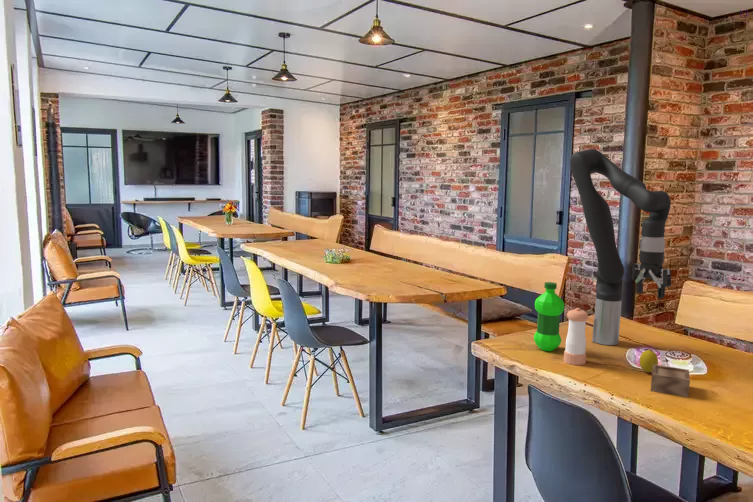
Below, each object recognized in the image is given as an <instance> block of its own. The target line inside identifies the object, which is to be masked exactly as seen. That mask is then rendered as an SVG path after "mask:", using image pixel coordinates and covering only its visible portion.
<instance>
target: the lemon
mask: <svg viewBox="0 0 753 502" xmlns="http://www.w3.org/2000/svg"><path fill="white" fill-rule="evenodd" d="M653 364H654V365H659V358H658V355H657V354H656V352H655V351H653V350H652V349H649V348H648V349H647V350H644V351H642V352H641V354H640V356H639V366H640V368H641V369H642V370H643V371H645V372H646V373H648V374H649V373H650V372H651V373H652V368H653Z"/></svg>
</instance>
